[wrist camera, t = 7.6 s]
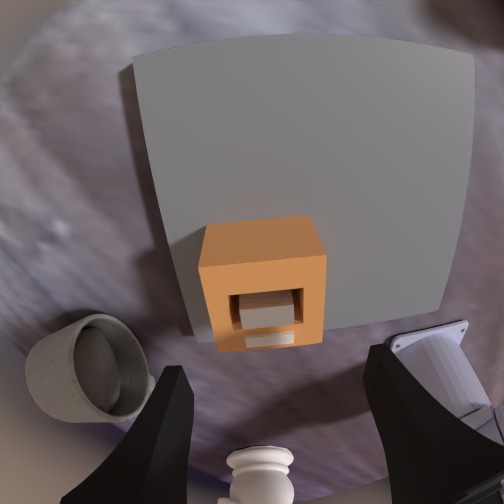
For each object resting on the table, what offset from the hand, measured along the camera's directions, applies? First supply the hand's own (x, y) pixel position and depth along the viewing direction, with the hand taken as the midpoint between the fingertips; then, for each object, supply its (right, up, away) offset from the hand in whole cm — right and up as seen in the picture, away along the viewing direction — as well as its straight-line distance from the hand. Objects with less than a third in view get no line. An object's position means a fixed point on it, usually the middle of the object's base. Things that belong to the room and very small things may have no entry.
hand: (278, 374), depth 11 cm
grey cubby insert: (0, +4, +7) cm, 8 cm away
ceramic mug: (-13, -3, +12) cm, 18 cm away
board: (+3, +8, +6) cm, 10 cm away
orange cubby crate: (0, +4, +7) cm, 8 cm away
